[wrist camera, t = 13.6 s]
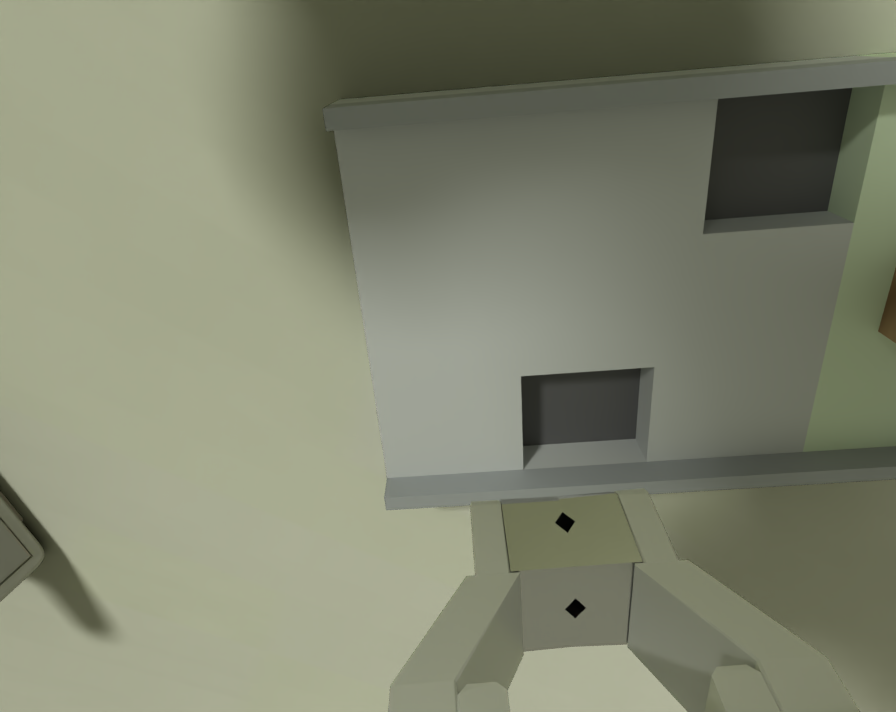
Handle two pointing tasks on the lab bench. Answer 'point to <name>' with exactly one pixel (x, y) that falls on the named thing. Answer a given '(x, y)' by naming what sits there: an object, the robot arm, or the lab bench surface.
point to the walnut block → (890, 313)
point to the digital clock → (15, 549)
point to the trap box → (628, 280)
